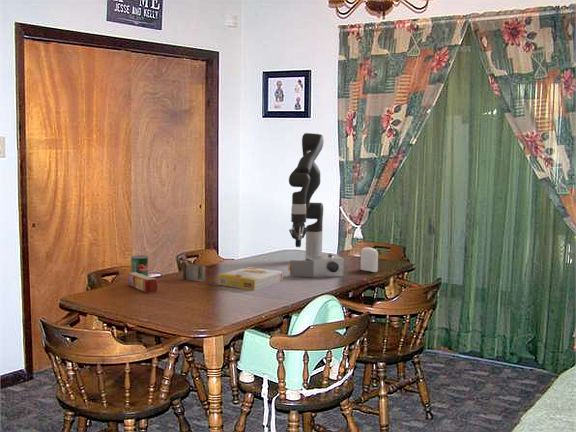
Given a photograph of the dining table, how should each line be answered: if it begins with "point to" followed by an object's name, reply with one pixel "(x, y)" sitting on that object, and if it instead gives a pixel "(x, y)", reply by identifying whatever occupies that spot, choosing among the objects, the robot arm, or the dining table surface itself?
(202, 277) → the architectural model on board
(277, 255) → the dining table surface
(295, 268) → the side door
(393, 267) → the dining table surface
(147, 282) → the snack package
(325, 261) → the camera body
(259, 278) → the cereal box
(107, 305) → the dining table surface
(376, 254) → the photo printer
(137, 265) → the canned tomato
